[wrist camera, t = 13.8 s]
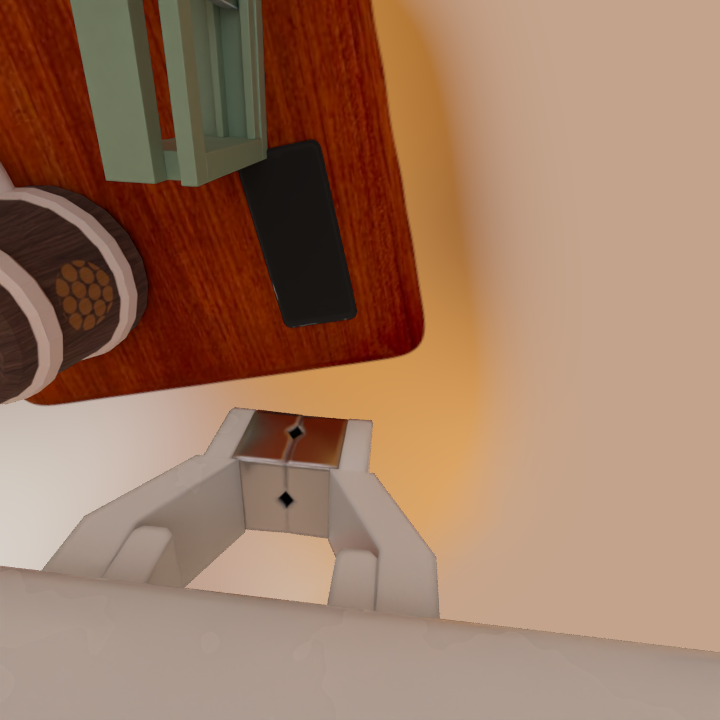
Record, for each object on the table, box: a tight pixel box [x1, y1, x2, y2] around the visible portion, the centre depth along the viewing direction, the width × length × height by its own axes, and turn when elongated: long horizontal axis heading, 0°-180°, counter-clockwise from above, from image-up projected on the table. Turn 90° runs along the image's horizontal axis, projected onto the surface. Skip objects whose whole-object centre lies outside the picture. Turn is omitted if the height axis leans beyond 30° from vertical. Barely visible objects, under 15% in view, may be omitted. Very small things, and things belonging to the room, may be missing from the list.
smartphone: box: [238, 140, 357, 328], centre depth 40 cm, size 7×1×15 cm
